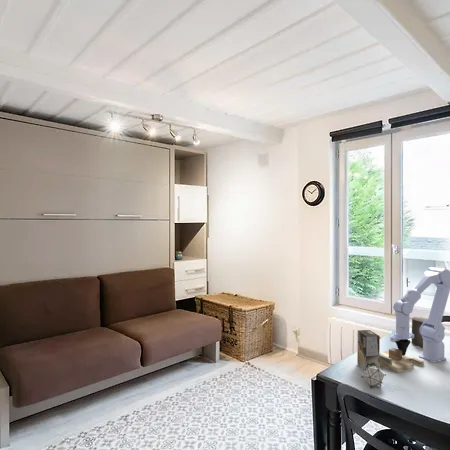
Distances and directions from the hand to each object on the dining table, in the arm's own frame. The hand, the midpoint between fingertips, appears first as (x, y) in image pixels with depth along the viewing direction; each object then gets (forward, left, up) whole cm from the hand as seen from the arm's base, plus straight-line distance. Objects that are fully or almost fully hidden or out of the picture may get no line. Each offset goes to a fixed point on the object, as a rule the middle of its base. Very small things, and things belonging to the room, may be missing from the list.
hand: (402, 354), depth 167 cm
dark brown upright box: (-31, -11, -3) cm, 33 cm away
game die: (+34, +12, -3) cm, 36 cm away
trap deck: (+5, 0, -3) cm, 6 cm away
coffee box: (+22, -1, -3) cm, 22 cm away
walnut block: (+5, 0, -1) cm, 5 cm away
